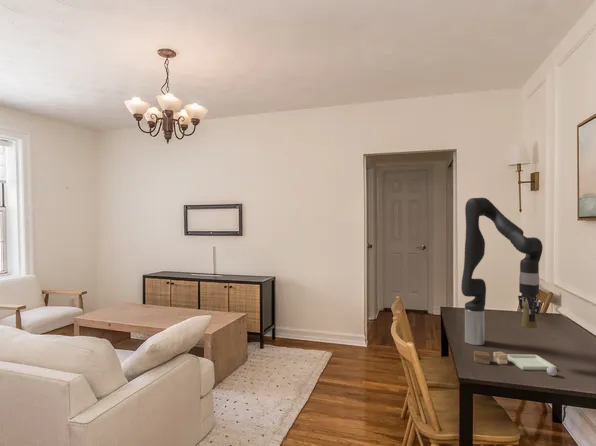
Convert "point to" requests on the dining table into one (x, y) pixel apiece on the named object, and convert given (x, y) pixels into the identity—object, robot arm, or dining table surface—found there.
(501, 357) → the maple block
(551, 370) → the grey ball
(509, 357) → the tray
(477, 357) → the walnut block
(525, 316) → the cork
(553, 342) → the dining table surface
